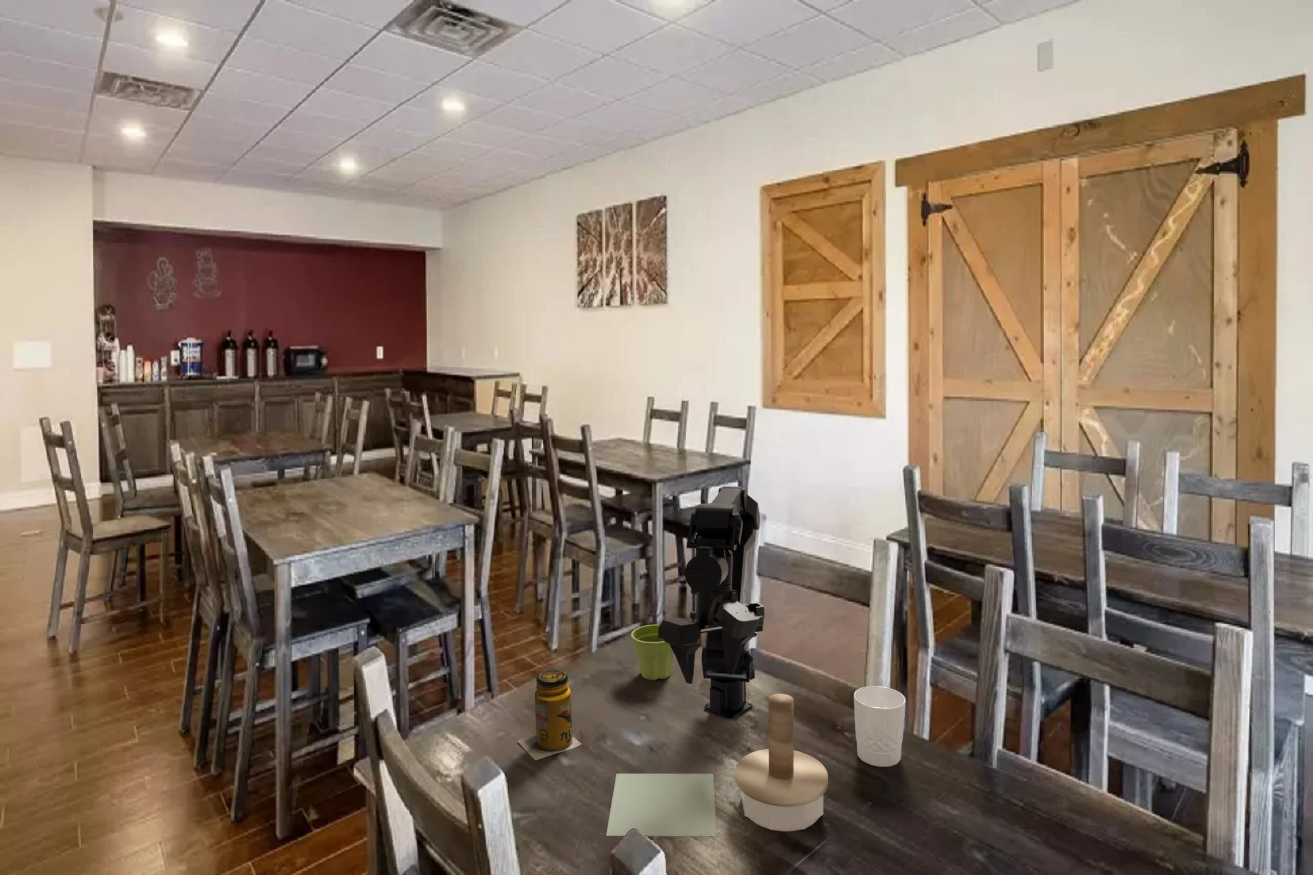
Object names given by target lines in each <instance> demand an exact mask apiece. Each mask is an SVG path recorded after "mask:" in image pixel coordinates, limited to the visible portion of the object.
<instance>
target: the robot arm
mask: <svg viewBox="0 0 1313 875" xmlns="http://www.w3.org/2000/svg"><path fill="white" fill-rule="evenodd" d="M689 520H690V521H689V528H688V532H687V540H686V547H685V548H686V549H694V550H695V555H694V556H693V557H691V559H689V561H688V562H687V564H686V566H685V568H684V579H685V582H686V583H687V585H688V587H690V594H693V595H695V610H694V611H690V612H689V619H691V620H694V621H690V620H689V619H685V618H682V617H674V618H667V619H663V620H661V622H659V624H658V625H659V627H658V637H659V638H662V639H664V642H666V643H669V645H670V647H671V649H672V651H673V655H674V657H675V659H676V661H677V663H678V666H679V669H680V671H681V674H682V676H683V678H684V681H685V683H686V684H688V685H693V680H694V674H695V673H694V672H695V661H696V652H697V651H698V649H699V648H701V646H702V644H701V643H698V641H699V640H700V638H701V636H702V635H701V634H705V633H706V641H705V645H703V646H702V649H701V668H702V676H703V677H702V678H703V679H704V680H705V679H708V680H709V679H710V687H709V702H707V703H705V704H704V709H706V710H709V711H711V712H713V713H715V714H718V715H720V716H723V717H724V718H727V719H734V718H736V717H737V716H739V715H742V714H743V713H745V712H747V711H749V710H750V709H752V708H753V705H754V704H753V703H752V702H749V701H747V684H748V683H750V682H751V681H752V680H754V679H755V678H756V666H755V660H754V659H755V658H754V657H753V655H752V651H751V649H750V648H748V647H749V641H750V640H752V639H754V638H756V637H757V636H758V632H763V631H764V625H765V624H764V623H765V622H764V620H765V605H763V604H762V603H760V602H759V601H758V602H757V601H756V602H751V603H749V604H747V603H744V604H743V600H744V589H745V588H744V586H745V576H746V575H745V574H746V573H745V572H746V571H745V570H746V560H747V552H748V551H749V550H750V548H751V547H752V546H753V545H754V543H755V542H756V537H757V531H759V530H760V527H761V512H760V508H759V503H758V501H756V500H755V499H754V498H752V497H751V496H750V495H749V494H748V490H747V488H745V487H743V486H734V485H733V486H730V485H728V486H727V485H724V486H721V487H718V493H717V495H715V498H714V499H713V500H712V502H710V503H700V504H697V506H696V507H695V510H694V511H693V510H692V512H691V515H690V519H689Z"/></svg>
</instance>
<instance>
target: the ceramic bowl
mask: <svg viewBox="0 0 1313 875" xmlns="http://www.w3.org/2000/svg"><path fill="white" fill-rule="evenodd" d="M740 792H741V793H740V795H741V796H740V797H741V802H742V809H743V814H744V817H747V818H749V820H750V821H751V822H753V823H754V824H756V825H758V826H761V827H762V828H765V829H769V830H770V831H778V832H796V831H801V830H806V829H807V828H809V827H811V826H813V825H814V824H815V823H816V822H817V821H818V820H819V818H821V816H823V815H824V794H823V795H822V796H821V797H820V798H819V799H817V800H815V801H813V802H811V803H808V804H805V805H800V806H791V807H784V806H774V805H769V804H765V803H762V802H759V801H756V800H754V799H752V798H750V797H749V796H747V795H746V794H745V793H743V792H742V791H741V790H740Z"/></svg>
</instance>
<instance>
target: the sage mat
mask: <svg viewBox="0 0 1313 875" xmlns="http://www.w3.org/2000/svg"><path fill="white" fill-rule="evenodd" d="M615 775H616V776H615V780H614V781H615V782H614V788H613V792H612V797H611V798H612V799H611V806H610V810H609V817H608V823H607V830H606V835H605V836H606V837H626V836H625V835H626V833H627V832H628V831H629V830H630V829H632V828H636V829H638V830H640V832H644V834H645V835H646V836H645V837H717V819H716V818H717V817H716V802H715V801H716V800H715V785H714V784H715V783H714V773H616V774H615Z"/></svg>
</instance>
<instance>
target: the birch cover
mask: <svg viewBox="0 0 1313 875" xmlns="http://www.w3.org/2000/svg"><path fill="white" fill-rule="evenodd" d="M767 700H768V748H764V749H759V750H756V751H752V752H751V753H748V754H746V755H745V756H743V757H742V758H741V759H739V761H738V762H737V764H736V766H735V783H736V785H737V787H738V788H739V789H740V792H741V791H742V792H743V793H745V794H746V795H747V796H749V797H750V798H752V799H754V800H756V801H759V802H762V803H765V804H769V805H774V806H784V807H791V806H800V805H805V804H808V803H811V802H813V801H815V800H817V799H819V798H820V797H821V796H822V795H823V796H824V794H826V791H827V789H828V785H829V781H828V780H829V775H828V774H829V773H828V771H827V768H825V767H826V766H824V765H823V764H822V762H820V761H819V760H818V759H816V758H815V757H813V756H811V755H809V754H807V753H804V752H801V751H797V750H794V749H795V748H794V746H795V744H794V742H795V741H794V740H795V739H794V738H795V736H794V735H795V734H794V733H795V732H794V731H795V729H794V727H795V726H794V724H795V720H794V717H795V716H794V713H795V712H794V711H795V710H794V708H795V707H794V704H795V703H794V701H795V700H794V697H792V696H791V695H789V694H785V693H774V694H772V695H770V696H769V697H768V699H767Z"/></svg>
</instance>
